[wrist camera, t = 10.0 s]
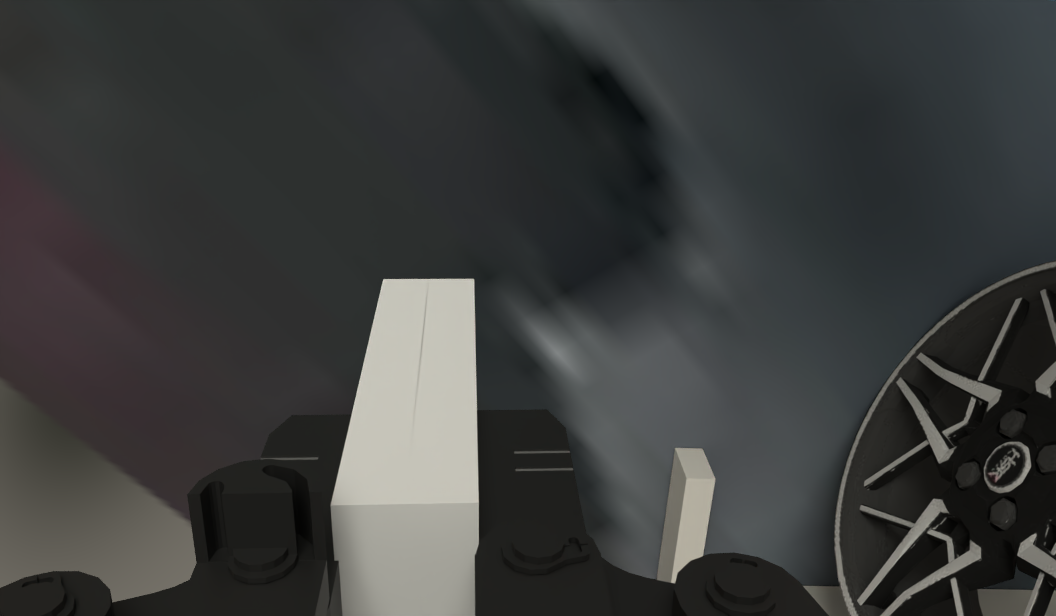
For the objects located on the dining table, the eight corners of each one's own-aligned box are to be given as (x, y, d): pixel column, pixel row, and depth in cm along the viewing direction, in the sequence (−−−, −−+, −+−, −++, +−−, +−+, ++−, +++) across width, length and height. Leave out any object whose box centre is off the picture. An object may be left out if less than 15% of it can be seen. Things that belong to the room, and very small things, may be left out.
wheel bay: (675, 447, 51) (702, 519, 45) (1216, 463, 53) (1311, 533, 47) (653, 600, 55) (675, 685, 49) (1159, 608, 57) (1240, 690, 51)
